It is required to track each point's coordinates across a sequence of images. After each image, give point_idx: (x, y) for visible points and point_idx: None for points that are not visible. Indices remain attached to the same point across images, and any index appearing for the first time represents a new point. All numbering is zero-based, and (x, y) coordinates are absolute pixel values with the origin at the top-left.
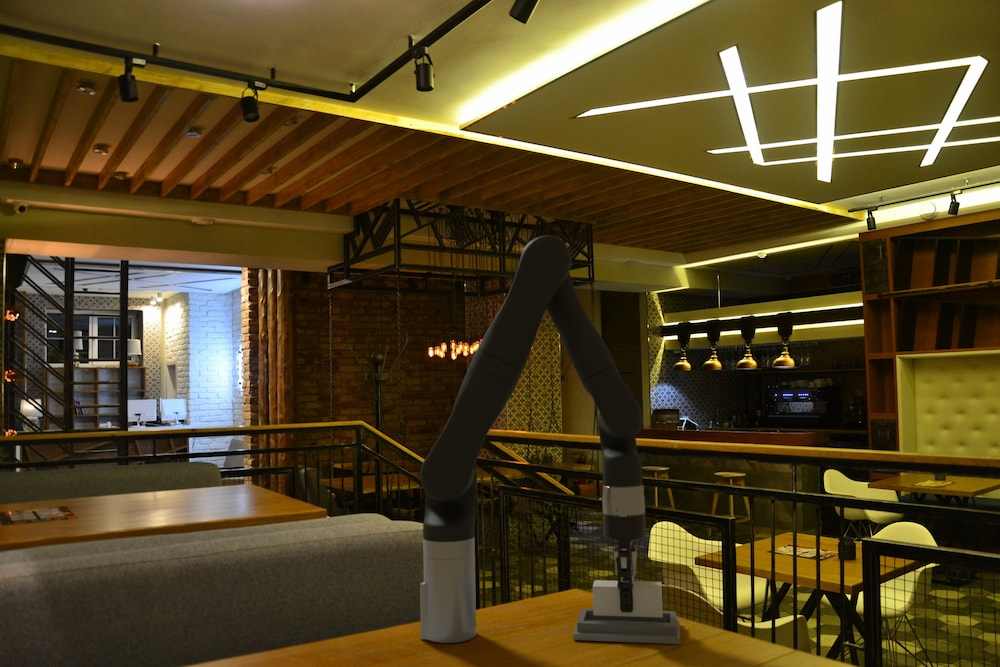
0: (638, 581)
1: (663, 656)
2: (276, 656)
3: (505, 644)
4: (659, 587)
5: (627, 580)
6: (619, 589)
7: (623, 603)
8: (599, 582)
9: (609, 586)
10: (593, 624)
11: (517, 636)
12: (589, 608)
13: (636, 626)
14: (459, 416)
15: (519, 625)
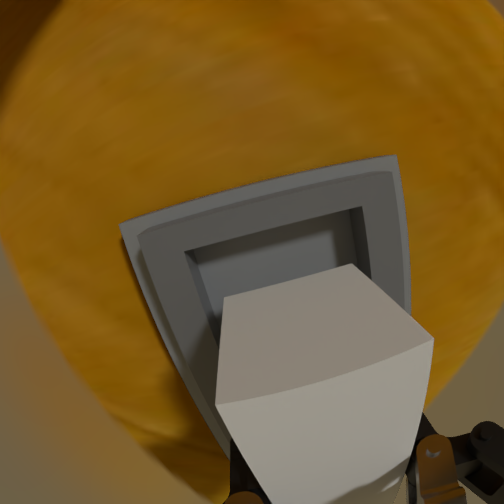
0: (396, 490)
1: (149, 445)
2: None
3: (41, 46)
4: None
5: (409, 470)
6: (229, 499)
7: (231, 455)
8: (366, 401)
9: (258, 474)
10: (164, 306)
11: (115, 22)
12: (397, 207)
13: (221, 427)
14: None
15: None
